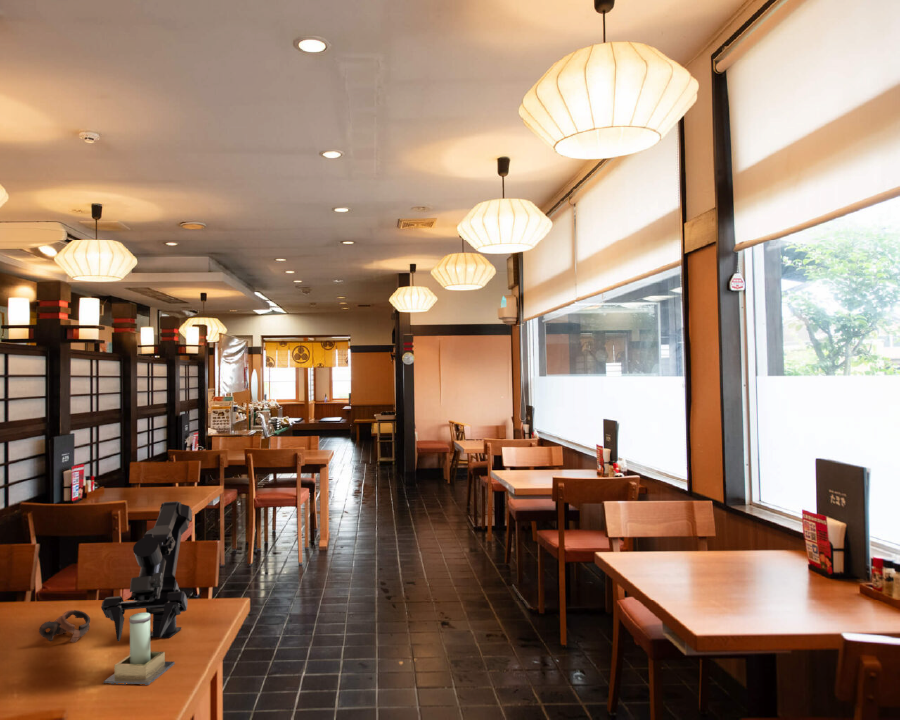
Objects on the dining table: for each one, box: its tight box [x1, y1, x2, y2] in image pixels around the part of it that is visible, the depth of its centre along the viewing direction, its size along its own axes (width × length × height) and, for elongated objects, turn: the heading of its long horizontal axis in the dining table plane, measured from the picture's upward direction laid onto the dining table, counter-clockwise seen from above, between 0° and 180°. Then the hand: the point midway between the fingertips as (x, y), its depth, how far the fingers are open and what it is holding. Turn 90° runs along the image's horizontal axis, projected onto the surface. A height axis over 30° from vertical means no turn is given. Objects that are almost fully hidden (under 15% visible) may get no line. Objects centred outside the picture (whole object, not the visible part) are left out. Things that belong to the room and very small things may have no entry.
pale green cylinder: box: [128, 612, 152, 664], centre depth 152 cm, size 5×5×13 cm
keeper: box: [103, 650, 176, 686], centre depth 151 cm, size 11×11×4 cm
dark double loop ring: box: [38, 609, 91, 643], centre depth 173 cm, size 12×10×8 cm
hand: (139, 638), depth 151 cm, fingers open, 9 cm apart
